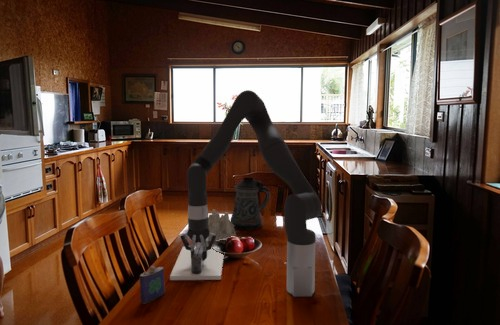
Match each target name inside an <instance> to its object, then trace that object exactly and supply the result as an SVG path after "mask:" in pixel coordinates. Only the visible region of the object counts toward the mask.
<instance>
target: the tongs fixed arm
mask: <svg viewBox="0 0 500 325" xmlns="http://www.w3.org/2000/svg"><path fill="white" fill-rule="evenodd" d="M206 245H207V246H208V245H209V241H208V238H207V239H206ZM203 263H204V261H203V247H202V244H201V247H200V250H199V253H198V257H193V258H191V272H192V273H193V274H199V273H201V271H202V267H203Z"/></svg>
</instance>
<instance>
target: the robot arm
mask: <svg viewBox="0 0 500 325" xmlns="http://www.w3.org/2000/svg"><path fill="white" fill-rule="evenodd" d="M244 119H245V120H246V121H247V122H248V124H249V125H250V126H251V128H252V130H253V131H254V133H255V136H256V139H257V145H258V148H259V151H260V153H261V156H262V157H263V160H264V162H265V164H266V165H267V168H269V169H270V171H271V172H273V173H274V174H275V175H276V176H278V178H280V179H281V180H282V181H284V182H285V184H287V186H288V187H289V188H290V190H292V192H293V193H292V194H289V195H287V197H286V198H285V201H284V208H283V210H284V211H283V213H284V215H283V216H284V229H285V230H284V231H285V234H286V243H287V244H286V291H287V293H289V294H290V295H292V297H312V296H313V294H314V293H315V286H316V282H315V281H316V280H315V277H316V276H315V275H316V241H317V240H316V233H315V232H314V231H313V230H312V229H309V228H307V221H308V220H313V219H315V218H318V217H320V215H321V213H322V202H321V199H320V197H319V195H318V194H317V192H316V191H315V190H314V189H315V188H313V187H312V185H311V184H310V182H309V181H308V180H307V178H306V177H305V175H304V174H303V172H302V170H301V169H300V166H299V165H298V163H297V161H296V160H295V157H294V156H293V155H292V153H291V150H290V148H289V146H288V145H287V143H286V141H285V140H284V138H283V137H282V135H281V133H280V131H279V130H278V129H277V128H276V126H275V125H274V123H273V121H272V120H271V117H270V114H269V112H268V110H267V107H266V104H265V103H264V100H262V98H261V97H260V96H259V95H258V94H257V93H256V92H254V90H249V89H248V90H247V89H246V90H244V91H241V92H240V93H239V94H238V95H237V97H236V98H235V100H234V101H233V102H232V105H231V107H230V109H229V110H228V111H227V114H226V116H225V117H224V119H223V121H222V123H221V124H220V125H219V127H218V129H217V131H216V132H215V134H214V135H213V136H212V137H211V139H210V140H209V141H208V143H207V144H206V145H205V146H204V148H203V149H202V151H201V152H200V153H199V155H198V156H197V157H196V159H194V161H193V162H192V163H191V164H190V166H188V169H187V170H186V180H187V181H186V182H187V191H188V193H187V199H188V200H187V201H188V204H187V205H188V206H187V207H188V208H187V228H188V229H187V232H186V233H182V234H181V235H180V240H181V242H182V244H183V247H185V248H186V250H190V251H191V258H192V256H193V254H194V251H195V250H194V248H195V246H196V243H198V242H199V243H202V247H203V261H205V259H206V258H207V250H211V248H212V246H214V245H213V244H214V243H215V242H214V240H215V238H216V234H215V233H214V234H213V233H210V231H209V229H208V217H209V208H208V207H209V206H208V193H207V175H208V174H209V172H210V171H211V169H212V168H213V167H214V165H216V164H217V163H218V162H219V161H220V159H221V158H222V157H223V156H224V154H226V152H227V150H228V149H229V148H230V145H231V144H232V141H233V138H234V135H235V132H236V130H237V128H238V127H239V125H240V123H241V122H243V120H244ZM208 236H210V239H211V241H209V242H208V246H207V245H206V239H207V237H208ZM188 238H189V239H190V241H191V245H190V243H189V241H188Z"/></svg>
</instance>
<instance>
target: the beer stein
mask: <svg viewBox="0 0 500 325" xmlns="http://www.w3.org/2000/svg"><path fill="white" fill-rule="evenodd" d="M234 188H235V193H236V194H235V200H234V204H233V205H234V206H233V210H232V215H231V217H230V221H231V222H232V224H234V225H235V226H234V229H235V230H239V231H255V230H259V229H260V228H261V227H262V224H263V218H262V216H261V212H262V211H263V210H264V208H266V207H267V205H268V203H269V202H270V199H271V192H270V189H269V188H267V187H266V185H265V186H264V183H263V182H262V181H260V180H255V178H253V177H243V178H242V180H241V181H239V183H238V182H237V184H236V185H235V187H234ZM259 193H264V196H265V198H264V201H263V202H261V204H259Z"/></svg>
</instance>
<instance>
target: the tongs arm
mask: <svg viewBox="0 0 500 325" xmlns="http://www.w3.org/2000/svg"><path fill="white" fill-rule="evenodd" d="M201 244H202V243H199V242H197V244H196V245H195V246H196V249H195V251H194V254H193V256H192V258H193V257H198V253H199V250H200V247H201Z"/></svg>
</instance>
